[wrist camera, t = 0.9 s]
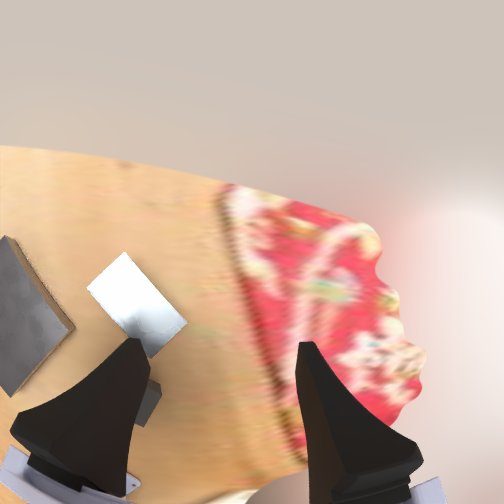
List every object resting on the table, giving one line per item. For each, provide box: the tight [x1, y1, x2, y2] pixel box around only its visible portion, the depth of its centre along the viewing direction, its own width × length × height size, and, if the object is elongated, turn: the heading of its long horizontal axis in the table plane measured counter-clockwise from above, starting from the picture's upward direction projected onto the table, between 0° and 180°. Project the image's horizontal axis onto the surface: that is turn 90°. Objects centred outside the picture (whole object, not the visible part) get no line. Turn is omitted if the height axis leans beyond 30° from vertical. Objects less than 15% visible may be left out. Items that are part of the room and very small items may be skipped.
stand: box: [0, 235, 75, 398], centre depth 17 cm, size 11×11×2 cm
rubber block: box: [135, 379, 162, 427], centre depth 21 cm, size 4×4×3 cm
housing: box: [87, 252, 188, 358], centre depth 21 cm, size 4×7×6 cm, turn 46°
